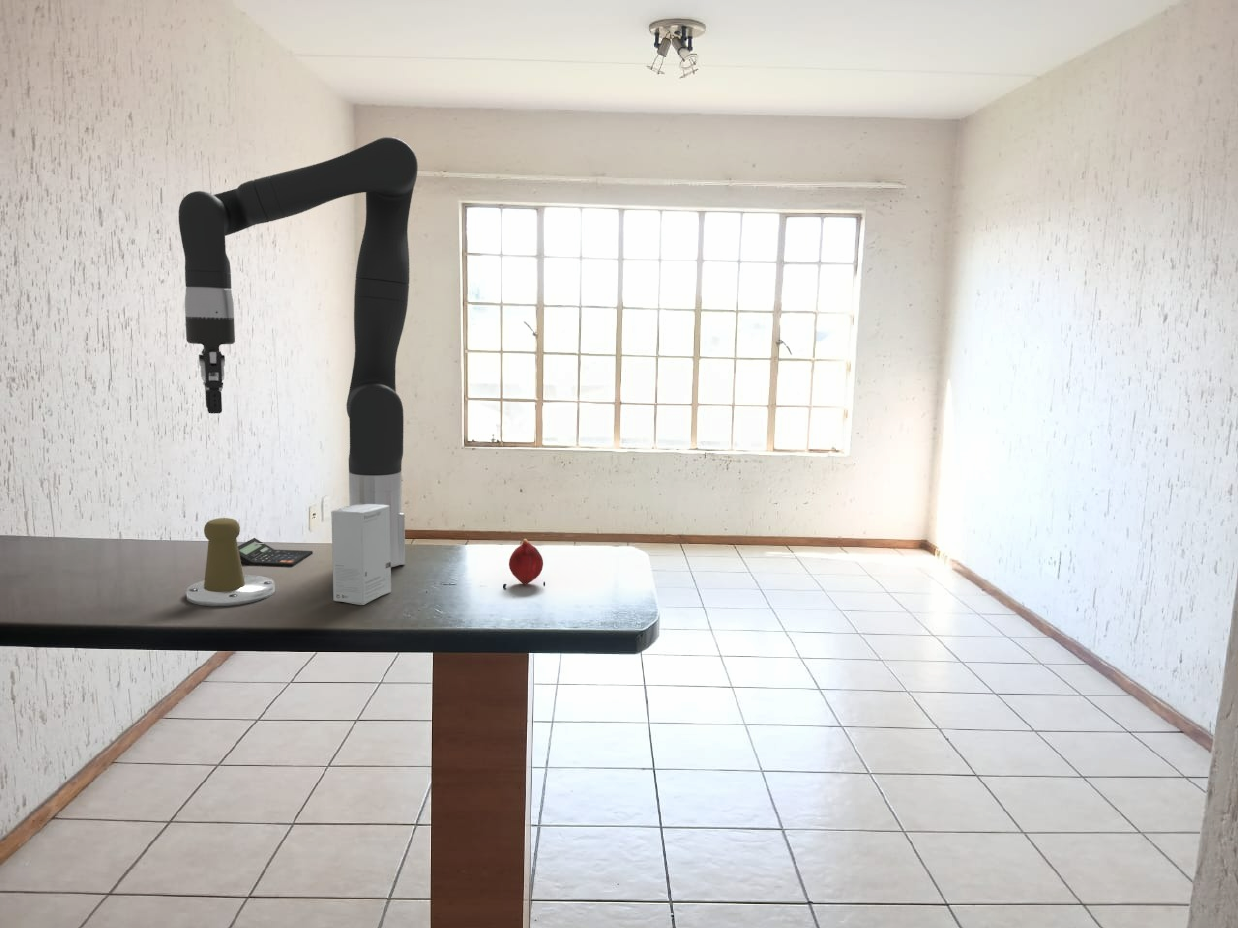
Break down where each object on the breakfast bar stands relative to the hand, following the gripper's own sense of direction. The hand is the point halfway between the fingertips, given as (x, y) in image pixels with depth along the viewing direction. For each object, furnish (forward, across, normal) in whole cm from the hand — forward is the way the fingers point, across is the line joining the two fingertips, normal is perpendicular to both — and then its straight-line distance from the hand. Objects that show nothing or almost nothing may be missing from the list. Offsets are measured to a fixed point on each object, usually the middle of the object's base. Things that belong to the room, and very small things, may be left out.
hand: (213, 410), depth 150 cm
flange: (+28, -16, -1) cm, 32 cm away
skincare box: (+28, -25, -20) cm, 43 cm away
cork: (+27, -15, 0) cm, 31 cm away
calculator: (+29, +4, -9) cm, 30 cm away
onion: (+28, -28, -47) cm, 62 cm away
